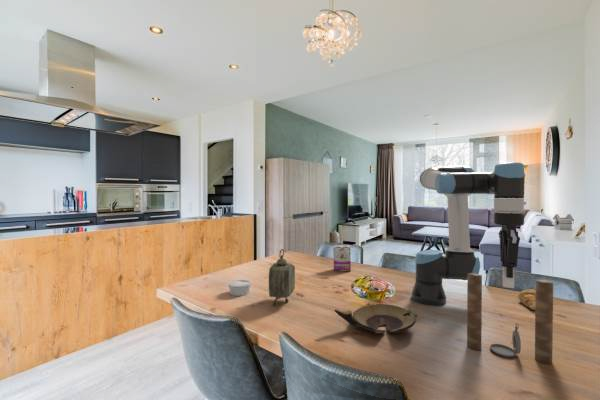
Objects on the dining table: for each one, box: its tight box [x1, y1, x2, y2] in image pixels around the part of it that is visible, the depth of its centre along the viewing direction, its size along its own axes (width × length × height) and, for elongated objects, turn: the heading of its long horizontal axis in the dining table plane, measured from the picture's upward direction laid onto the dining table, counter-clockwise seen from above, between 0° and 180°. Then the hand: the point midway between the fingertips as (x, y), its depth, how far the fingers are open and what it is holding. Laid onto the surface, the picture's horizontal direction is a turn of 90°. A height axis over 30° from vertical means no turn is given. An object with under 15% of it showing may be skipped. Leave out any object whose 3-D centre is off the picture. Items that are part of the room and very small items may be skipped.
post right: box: [534, 279, 554, 365], centre depth 84 cm, size 4×4×24 cm
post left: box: [466, 273, 483, 351], centre depth 91 cm, size 4×4×24 cm
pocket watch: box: [489, 323, 522, 358], centre depth 87 cm, size 8×8×10 cm
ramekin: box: [228, 279, 252, 297], centre depth 143 cm, size 11×11×5 cm
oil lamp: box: [334, 303, 418, 334], centre depth 106 cm, size 22×30×8 cm
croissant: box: [517, 288, 536, 311], centre depth 127 cm, size 21×10×8 cm, turn 144°
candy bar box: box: [333, 245, 352, 271], centre depth 185 cm, size 11×5×16 cm, turn 80°
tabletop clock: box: [268, 248, 296, 307], centre depth 130 cm, size 14×9×25 cm, turn 168°
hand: (508, 286), depth 87 cm, fingers closed
